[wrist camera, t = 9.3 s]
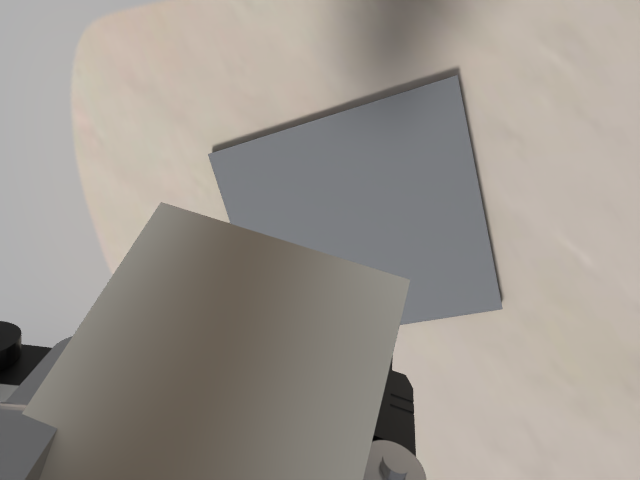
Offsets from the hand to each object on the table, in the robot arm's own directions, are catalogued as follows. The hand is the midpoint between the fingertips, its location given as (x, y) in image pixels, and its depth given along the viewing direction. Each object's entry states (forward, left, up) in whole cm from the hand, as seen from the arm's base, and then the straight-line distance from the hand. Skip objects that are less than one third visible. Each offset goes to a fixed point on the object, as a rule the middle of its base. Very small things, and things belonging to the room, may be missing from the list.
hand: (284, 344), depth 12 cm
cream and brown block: (+2, +4, -2) cm, 5 cm away
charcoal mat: (0, 0, -17) cm, 17 cm away
